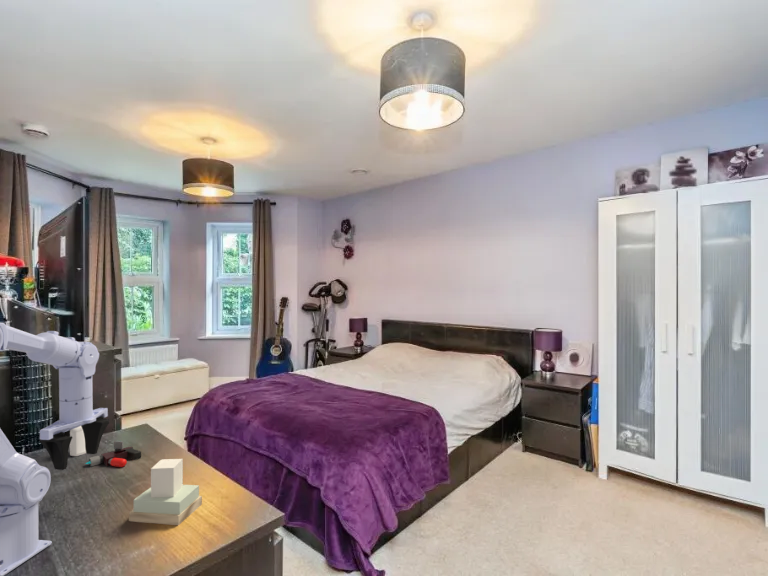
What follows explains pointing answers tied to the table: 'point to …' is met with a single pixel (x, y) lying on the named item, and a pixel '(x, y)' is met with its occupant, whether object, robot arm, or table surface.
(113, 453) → the toy gun
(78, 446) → the eye dropper bottle
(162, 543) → the table surface
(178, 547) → the table surface
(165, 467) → the cream block
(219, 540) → the table surface
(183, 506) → the sage top slab
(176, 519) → the oak base slab
